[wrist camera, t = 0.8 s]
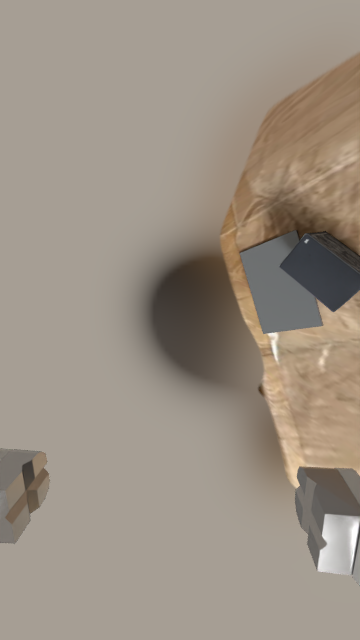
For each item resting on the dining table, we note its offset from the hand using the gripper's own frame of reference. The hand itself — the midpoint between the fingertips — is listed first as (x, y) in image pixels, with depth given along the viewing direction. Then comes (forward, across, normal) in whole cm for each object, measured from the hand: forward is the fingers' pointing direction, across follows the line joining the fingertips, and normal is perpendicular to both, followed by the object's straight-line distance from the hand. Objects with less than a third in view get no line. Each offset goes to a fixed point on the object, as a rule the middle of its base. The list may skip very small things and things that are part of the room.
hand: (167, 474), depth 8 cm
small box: (+41, -23, -6) cm, 47 cm away
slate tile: (+47, -16, -2) cm, 50 cm away
